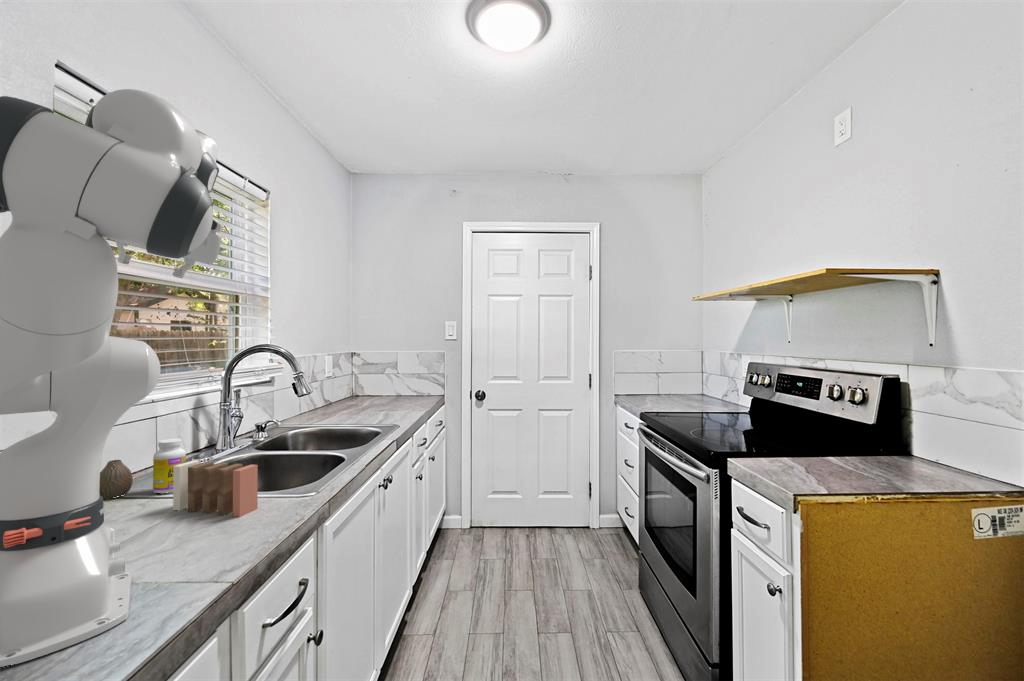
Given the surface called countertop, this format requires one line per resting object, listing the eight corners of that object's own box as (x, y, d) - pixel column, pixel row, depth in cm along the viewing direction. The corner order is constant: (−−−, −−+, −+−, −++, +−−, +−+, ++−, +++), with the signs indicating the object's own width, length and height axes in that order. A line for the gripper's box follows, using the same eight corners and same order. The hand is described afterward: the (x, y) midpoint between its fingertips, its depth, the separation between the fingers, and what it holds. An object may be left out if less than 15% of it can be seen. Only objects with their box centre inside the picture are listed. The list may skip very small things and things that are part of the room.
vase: (113, 491, 115) (113, 457, 115) (140, 492, 115) (140, 457, 115) (87, 501, 108) (87, 464, 108) (115, 501, 108) (115, 464, 108)
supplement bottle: (166, 496, 112) (166, 444, 112) (146, 493, 113) (146, 442, 113) (192, 487, 118) (192, 438, 118) (172, 485, 120) (172, 437, 120)
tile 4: (213, 504, 106) (213, 461, 106) (194, 512, 101) (194, 467, 101) (207, 504, 106) (207, 461, 106) (187, 511, 101) (187, 467, 101)
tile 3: (227, 506, 105) (228, 462, 105) (209, 514, 100) (209, 468, 100) (221, 505, 105) (221, 462, 105) (202, 513, 100) (202, 468, 101)
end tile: (257, 508, 103) (257, 464, 103) (239, 517, 98) (239, 471, 98) (250, 508, 104) (250, 464, 104) (232, 516, 99) (233, 470, 99)
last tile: (199, 503, 107) (199, 460, 107) (179, 511, 102) (179, 466, 102) (193, 502, 107) (193, 460, 107) (173, 510, 102) (173, 466, 102)
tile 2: (242, 507, 104) (242, 463, 104) (224, 515, 99) (224, 469, 99) (236, 506, 105) (236, 463, 105) (217, 514, 100) (217, 469, 100)
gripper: (112, 186, 83) (88, 256, 84) (230, 228, 100) (209, 287, 101) (105, 182, 87) (82, 250, 88) (220, 224, 104) (199, 280, 104)
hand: (151, 270), depth 94 cm, fingers open, 8 cm apart
